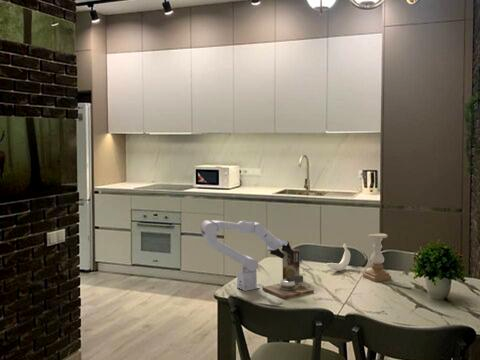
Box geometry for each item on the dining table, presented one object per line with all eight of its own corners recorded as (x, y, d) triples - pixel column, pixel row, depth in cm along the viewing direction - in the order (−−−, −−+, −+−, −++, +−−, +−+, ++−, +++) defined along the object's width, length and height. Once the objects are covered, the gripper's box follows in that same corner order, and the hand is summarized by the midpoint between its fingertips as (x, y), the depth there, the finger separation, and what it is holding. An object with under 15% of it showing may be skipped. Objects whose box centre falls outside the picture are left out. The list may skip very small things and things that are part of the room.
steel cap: (286, 289, 253) (286, 281, 252) (277, 285, 258) (277, 277, 258) (306, 284, 260) (306, 277, 259) (297, 281, 265) (297, 273, 265)
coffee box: (299, 277, 282) (299, 248, 281) (299, 281, 276) (299, 251, 274) (282, 277, 283) (282, 248, 282) (282, 280, 276) (282, 250, 275)
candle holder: (391, 279, 277) (392, 235, 275) (374, 282, 273) (375, 237, 271) (379, 274, 287) (379, 232, 285) (362, 276, 283) (363, 233, 281)
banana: (326, 272, 292) (326, 247, 291) (345, 266, 306) (345, 242, 304) (333, 274, 289) (333, 248, 287) (352, 268, 302) (352, 243, 301)
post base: (285, 299, 245) (285, 294, 245) (262, 290, 260) (262, 285, 260) (313, 292, 255) (313, 288, 255) (290, 284, 270) (290, 279, 270)
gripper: (281, 230, 262) (299, 246, 266) (264, 236, 273) (281, 252, 277) (276, 241, 258) (295, 257, 262) (258, 247, 269) (277, 262, 273)
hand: (288, 255), depth 269 cm, fingers open, 7 cm apart
